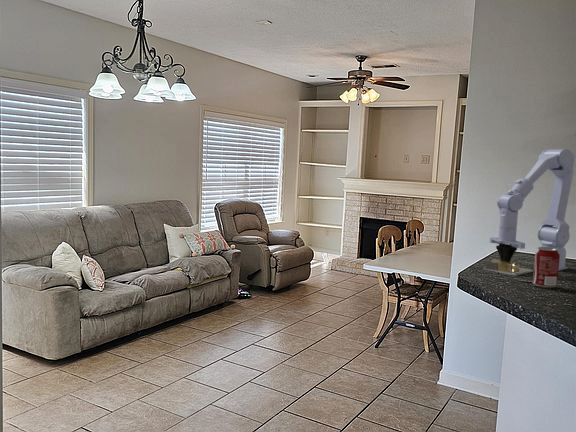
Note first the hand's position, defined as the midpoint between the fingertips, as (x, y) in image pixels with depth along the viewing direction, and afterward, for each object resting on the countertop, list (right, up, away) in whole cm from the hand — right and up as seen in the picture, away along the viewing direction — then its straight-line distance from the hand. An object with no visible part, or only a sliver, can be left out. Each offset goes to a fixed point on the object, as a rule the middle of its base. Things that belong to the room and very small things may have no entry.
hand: (505, 265), depth 184 cm
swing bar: (-1, -1, -3) cm, 4 cm away
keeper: (-3, -2, -3) cm, 5 cm away
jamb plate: (+1, -2, -1) cm, 2 cm away
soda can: (+2, -4, -25) cm, 26 cm away
